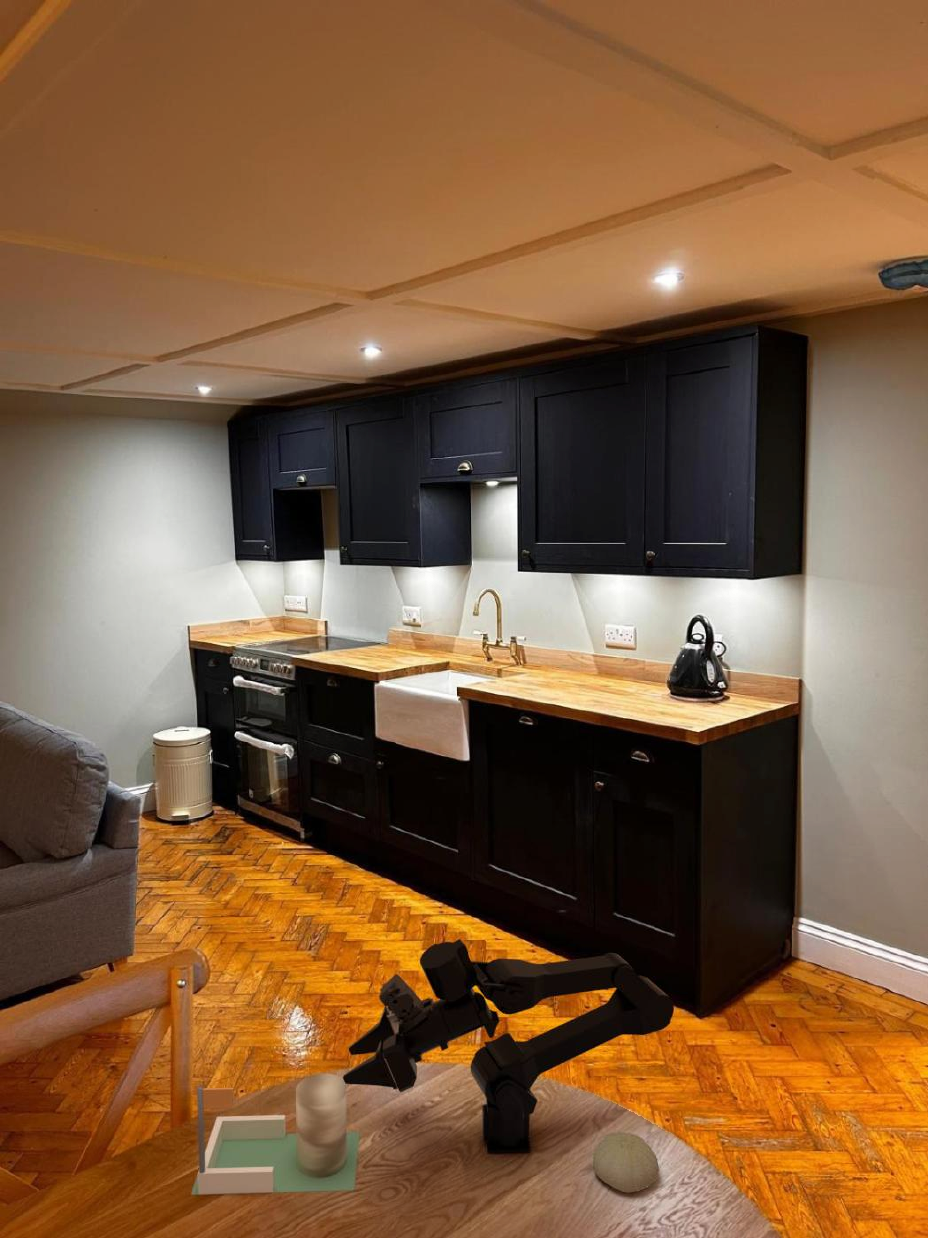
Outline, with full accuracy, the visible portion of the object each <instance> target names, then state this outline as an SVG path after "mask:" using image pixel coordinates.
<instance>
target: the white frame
mask: <svg viewBox="0 0 928 1238" xmlns="http://www.w3.org/2000/svg"><path fill="white" fill-rule="evenodd" d="M196 1092H197V1093H196V1099H197V1100H196V1102H197V1136H198V1140H197V1141H198V1142H197V1143H198V1144H197V1145H198V1171H197V1175H198V1194H208V1195H232V1194H231V1193H244V1194H268V1193H267V1192H273V1189H274V1167H242V1168H214V1167H215V1163H216V1160H217V1157H218V1154H219V1151H220V1148H221V1145H222V1141H223V1140H243V1139H283V1138H285V1134H287V1133H286V1115H285V1114H280V1115H279V1114H278V1115H276V1114H275V1115H270V1114H269V1115H239V1116H238V1115H237V1116H235V1115H233V1116H230V1115H229V1116H217V1117H216V1119H215V1122H214V1125H213V1127H212V1131H211V1133H210V1136H209V1139H208V1142H207V1145H205V1144H206V1143H205V1111H204V1110H231V1109H232V1110H233V1109H234V1108H235V1099H234V1098H235V1097H234V1094H235V1093H234V1087H217V1088H216V1087H215V1088H213V1087H212V1088H210V1087H207V1088H206V1087H205V1088H204V1086H202V1085H199V1086H197V1088H196Z"/></svg>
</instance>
